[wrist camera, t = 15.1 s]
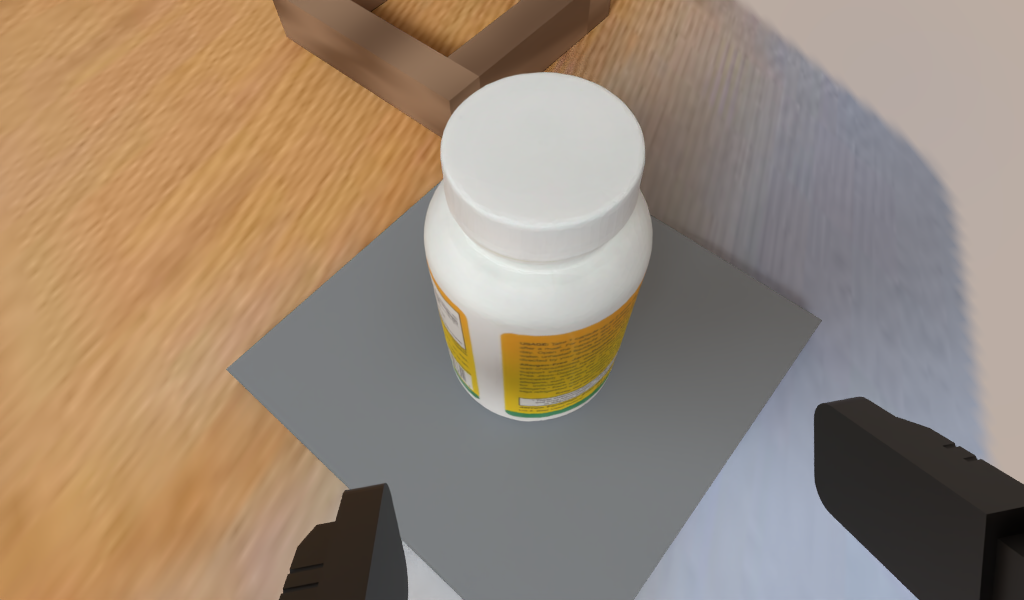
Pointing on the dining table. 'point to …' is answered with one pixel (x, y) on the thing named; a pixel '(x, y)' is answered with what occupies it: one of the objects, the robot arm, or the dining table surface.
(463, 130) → the supplement bottle
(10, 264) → the dining table surface
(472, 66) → the walnut holder
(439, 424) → the slate board
